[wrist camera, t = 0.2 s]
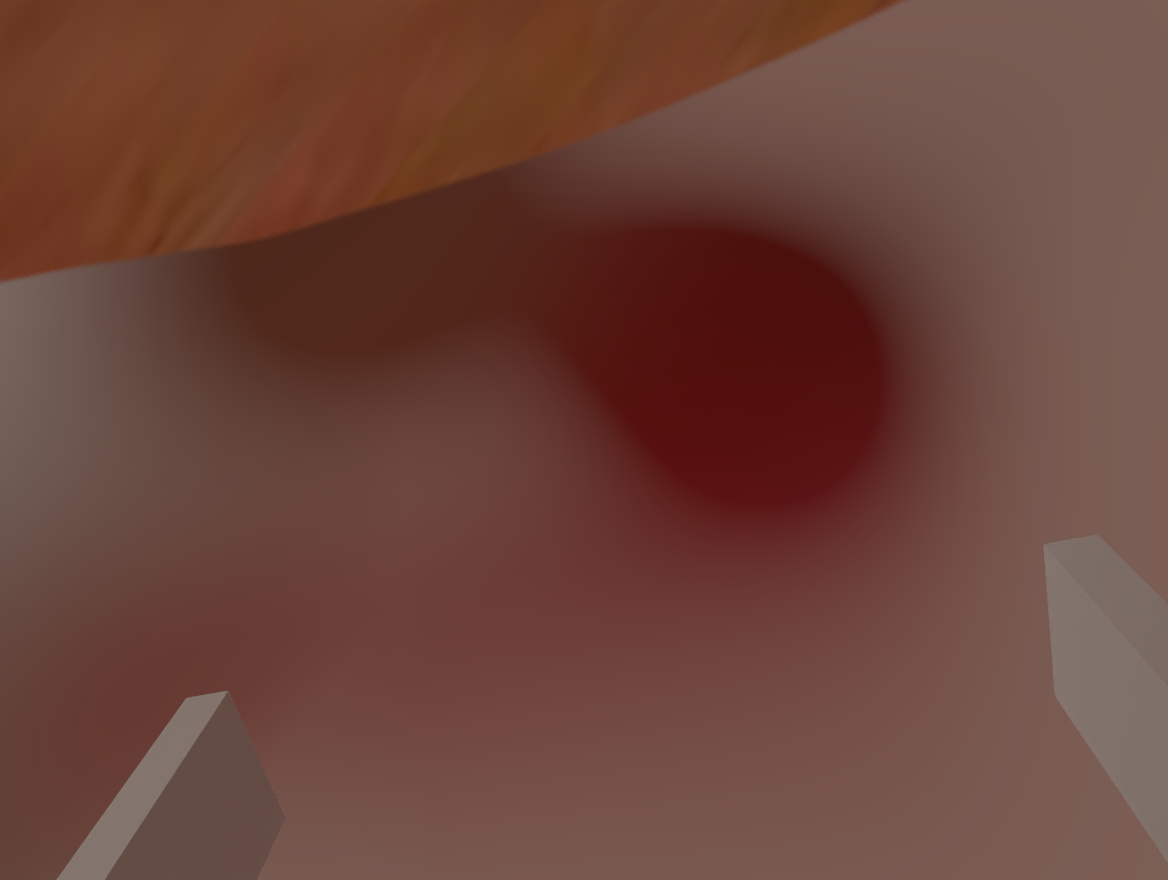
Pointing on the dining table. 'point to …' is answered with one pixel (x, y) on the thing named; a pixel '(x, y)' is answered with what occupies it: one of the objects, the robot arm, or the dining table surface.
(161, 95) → the dining table surface
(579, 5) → the dining table surface
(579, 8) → the dining table surface
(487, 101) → the dining table surface
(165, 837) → the robot arm
